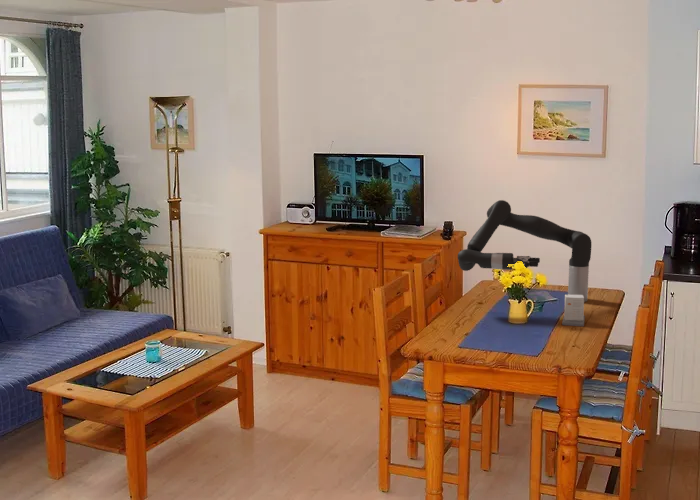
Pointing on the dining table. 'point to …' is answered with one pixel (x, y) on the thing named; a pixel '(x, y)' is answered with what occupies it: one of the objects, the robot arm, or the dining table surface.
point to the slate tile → (573, 322)
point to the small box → (574, 307)
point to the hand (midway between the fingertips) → (538, 262)
